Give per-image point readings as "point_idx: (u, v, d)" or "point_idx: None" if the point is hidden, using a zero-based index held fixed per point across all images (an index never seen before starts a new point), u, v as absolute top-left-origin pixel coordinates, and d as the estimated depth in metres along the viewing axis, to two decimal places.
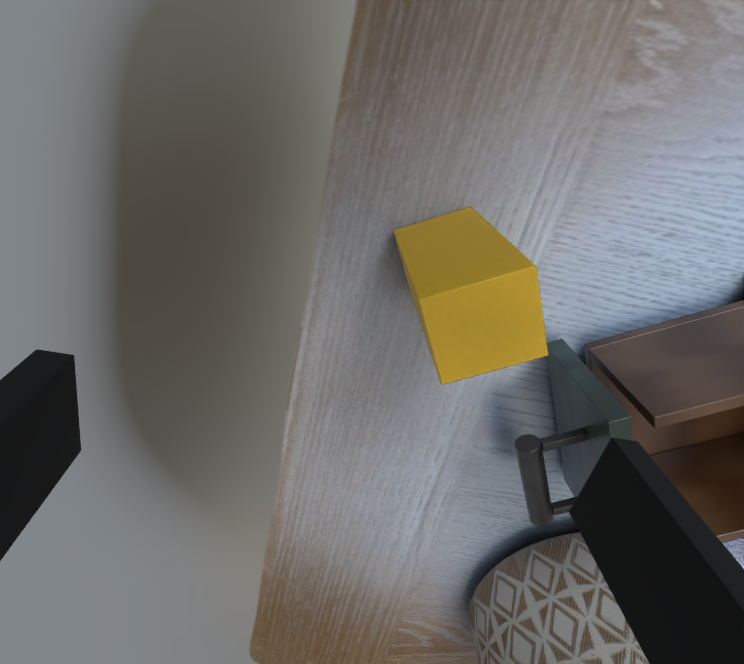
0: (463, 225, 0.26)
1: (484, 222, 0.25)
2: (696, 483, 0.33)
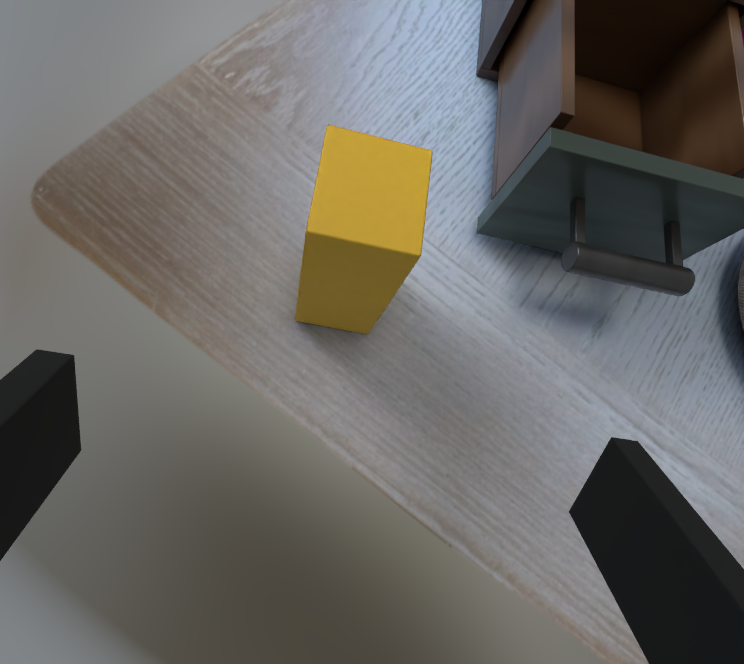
0: None
1: None
2: (681, 136, 0.31)
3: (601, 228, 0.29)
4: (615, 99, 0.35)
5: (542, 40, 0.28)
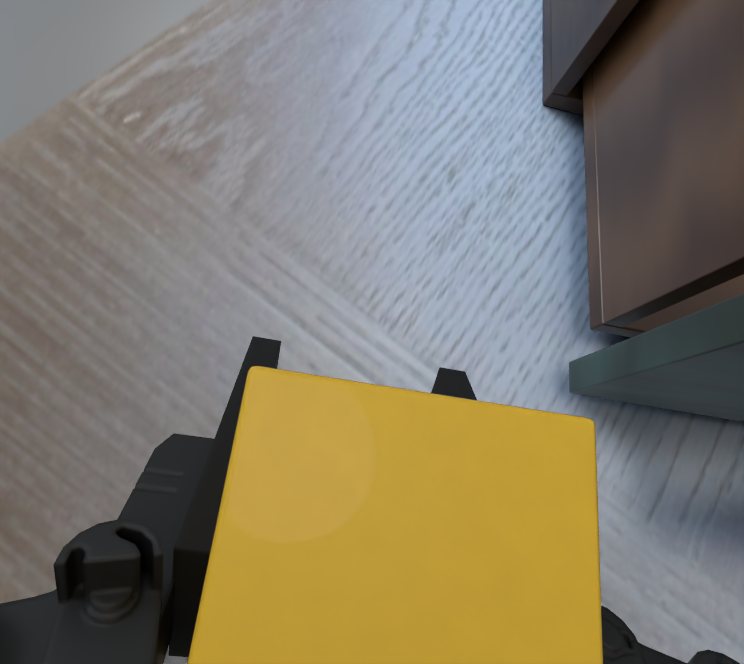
0: None
1: None
2: None
3: None
4: None
5: (711, 51, 0.14)
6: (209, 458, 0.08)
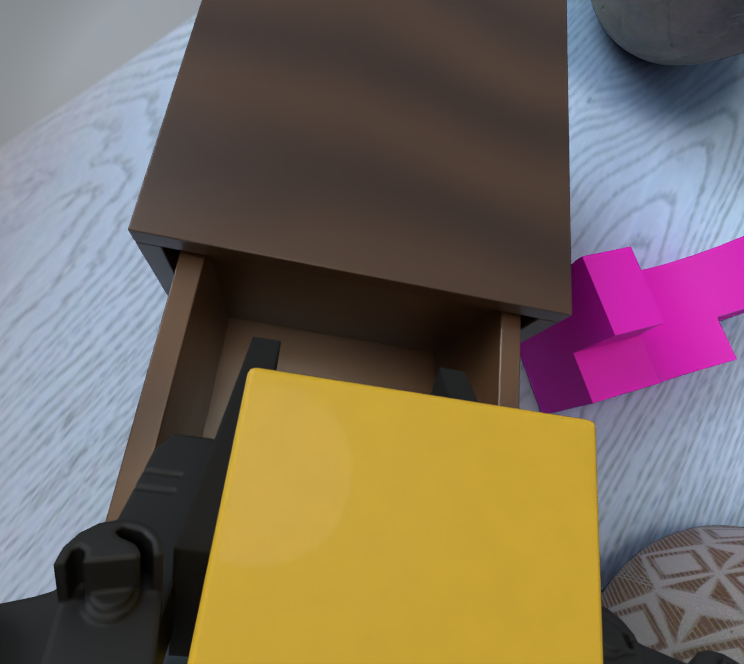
0: None
1: None
2: None
3: None
4: (394, 372, 0.23)
5: None
6: (209, 458, 0.08)
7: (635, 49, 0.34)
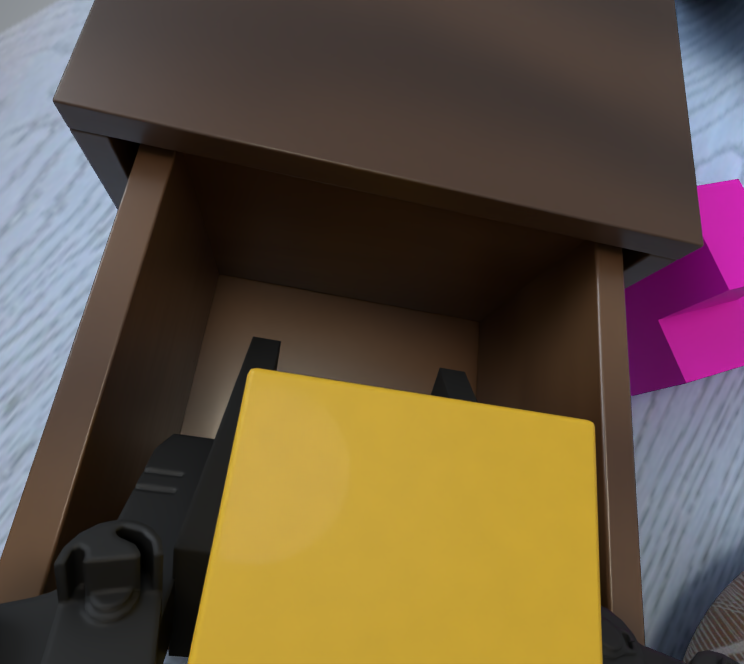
0: None
1: None
2: None
3: None
4: (427, 344, 0.18)
5: None
6: (209, 458, 0.08)
7: None
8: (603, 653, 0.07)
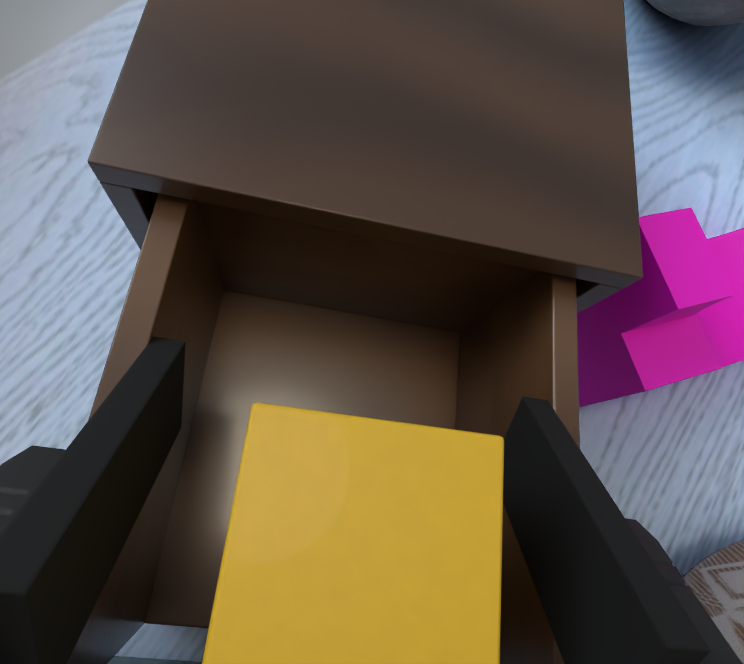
0: None
1: None
2: None
3: None
4: (413, 353, 0.20)
5: None
6: (48, 476, 0.07)
7: (672, 6, 0.30)
8: None
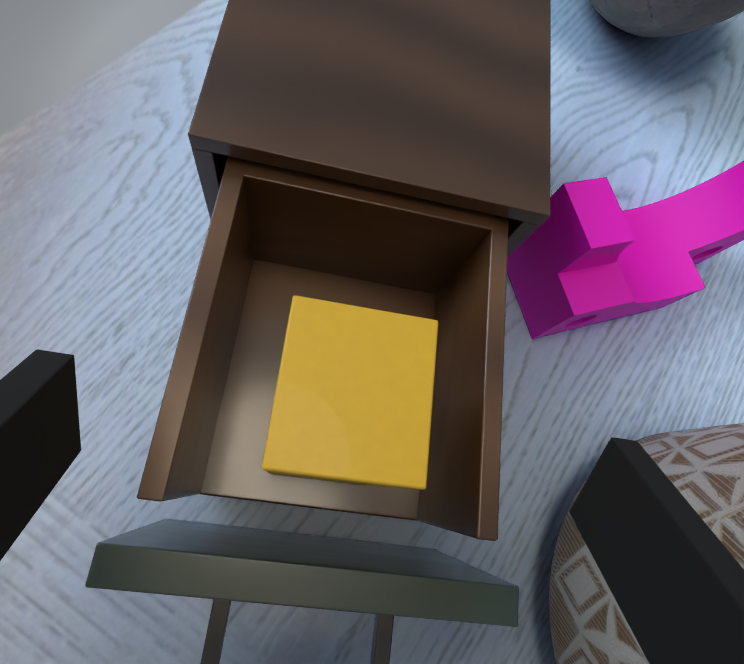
0: None
1: None
2: (447, 405, 0.22)
3: None
4: (398, 309, 0.26)
5: None
6: None
7: (620, 21, 0.37)
8: None
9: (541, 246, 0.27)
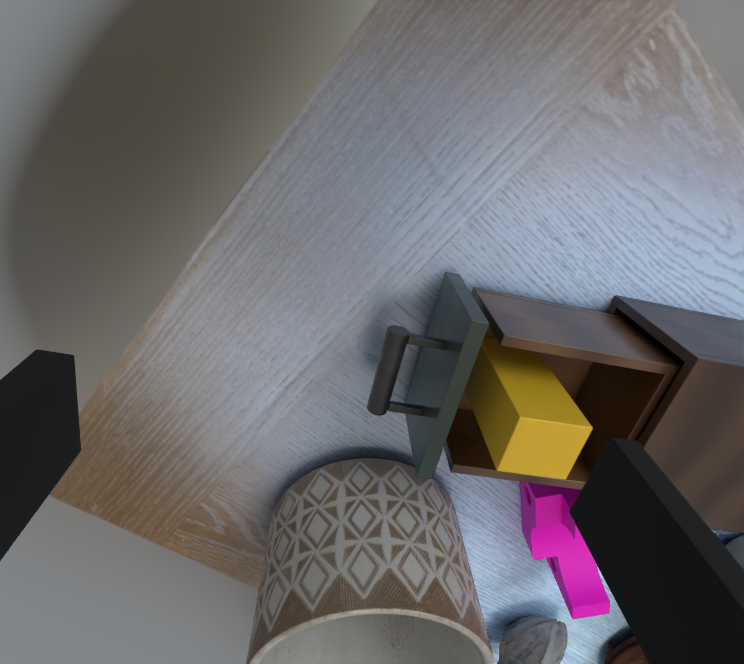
0: (532, 362, 0.36)
1: (547, 367, 0.36)
2: None
3: (430, 364, 0.37)
4: None
5: (590, 338, 0.33)
6: None
7: (728, 548, 0.53)
8: None
9: None
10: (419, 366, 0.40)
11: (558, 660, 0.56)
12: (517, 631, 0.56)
